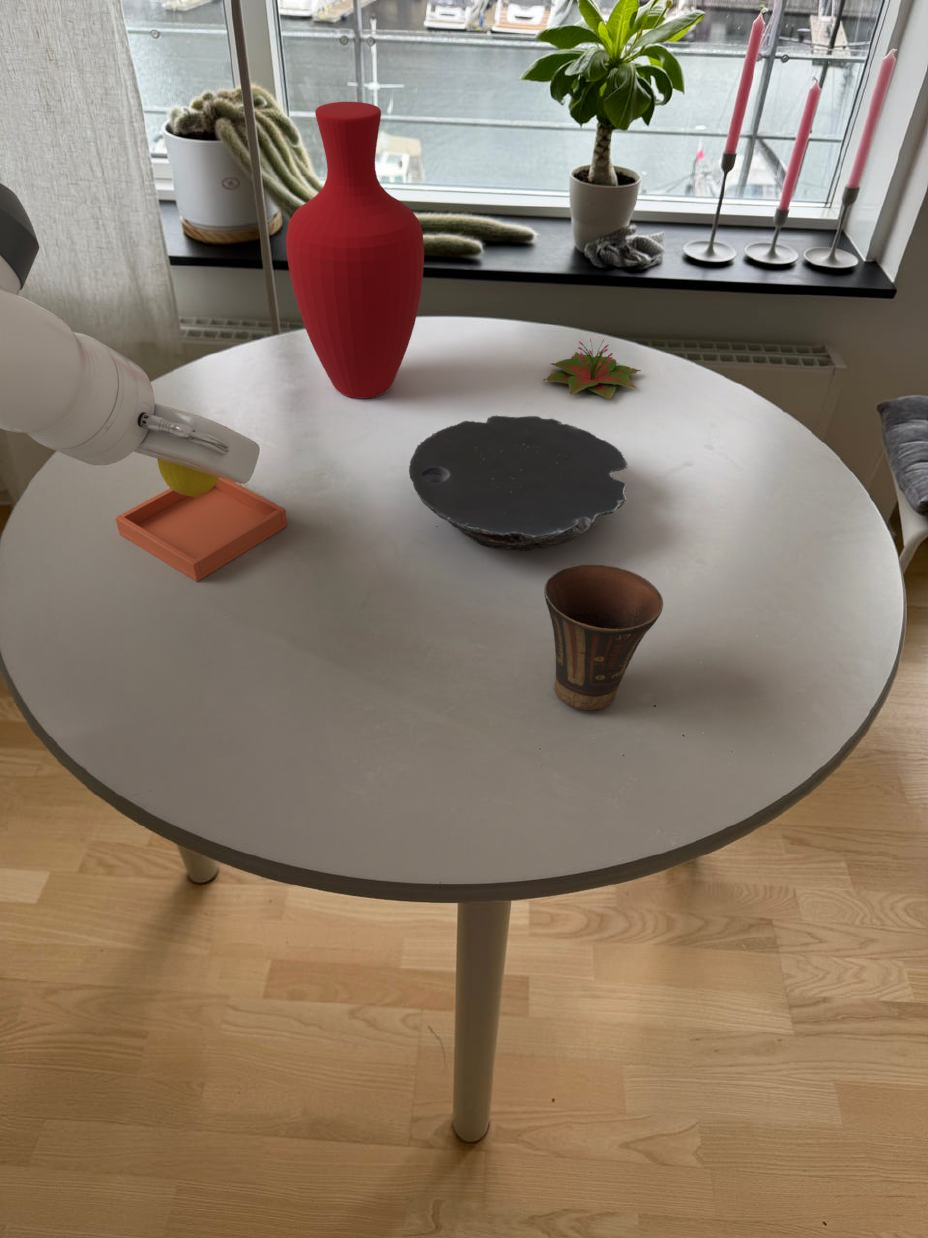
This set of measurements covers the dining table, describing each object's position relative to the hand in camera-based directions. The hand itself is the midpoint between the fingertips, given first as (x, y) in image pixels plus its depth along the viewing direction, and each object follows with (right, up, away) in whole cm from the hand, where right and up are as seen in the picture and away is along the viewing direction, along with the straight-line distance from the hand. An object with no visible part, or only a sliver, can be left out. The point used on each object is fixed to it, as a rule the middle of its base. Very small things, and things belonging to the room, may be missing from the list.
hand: (192, 453), depth 88 cm
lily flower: (+40, +14, +29) cm, 52 cm away
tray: (0, -6, +5) cm, 8 cm away
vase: (+13, +13, +27) cm, 32 cm away
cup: (+35, -20, -10) cm, 42 cm away
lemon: (0, -4, +3) cm, 5 cm away
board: (+30, -4, +9) cm, 31 cm away
